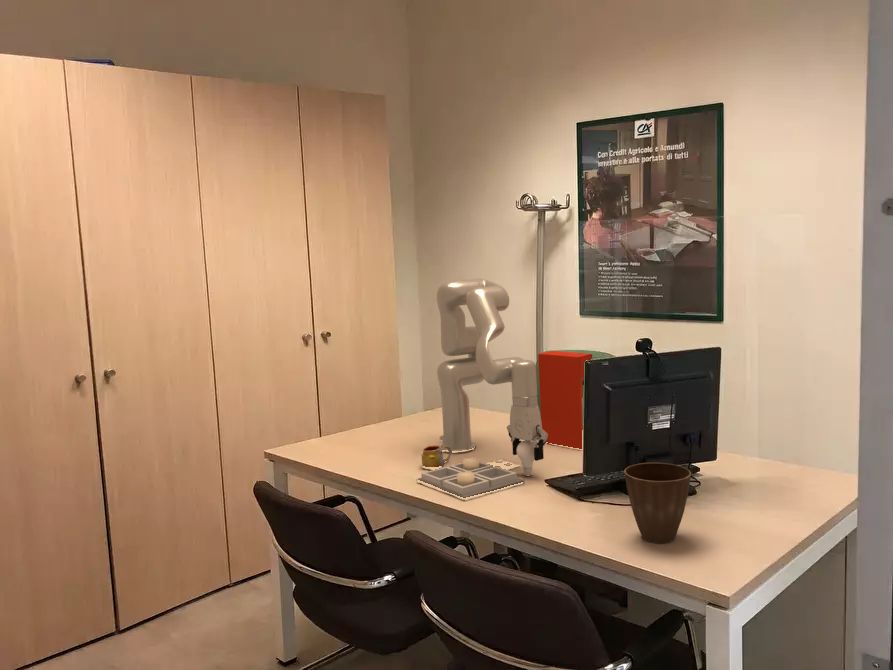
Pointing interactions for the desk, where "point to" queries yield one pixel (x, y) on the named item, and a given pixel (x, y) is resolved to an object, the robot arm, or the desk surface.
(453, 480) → the compartment tray
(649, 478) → the plant pot
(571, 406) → the file binder
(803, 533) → the desk surface
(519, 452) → the lightbulb
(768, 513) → the desk surface
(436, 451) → the mug
